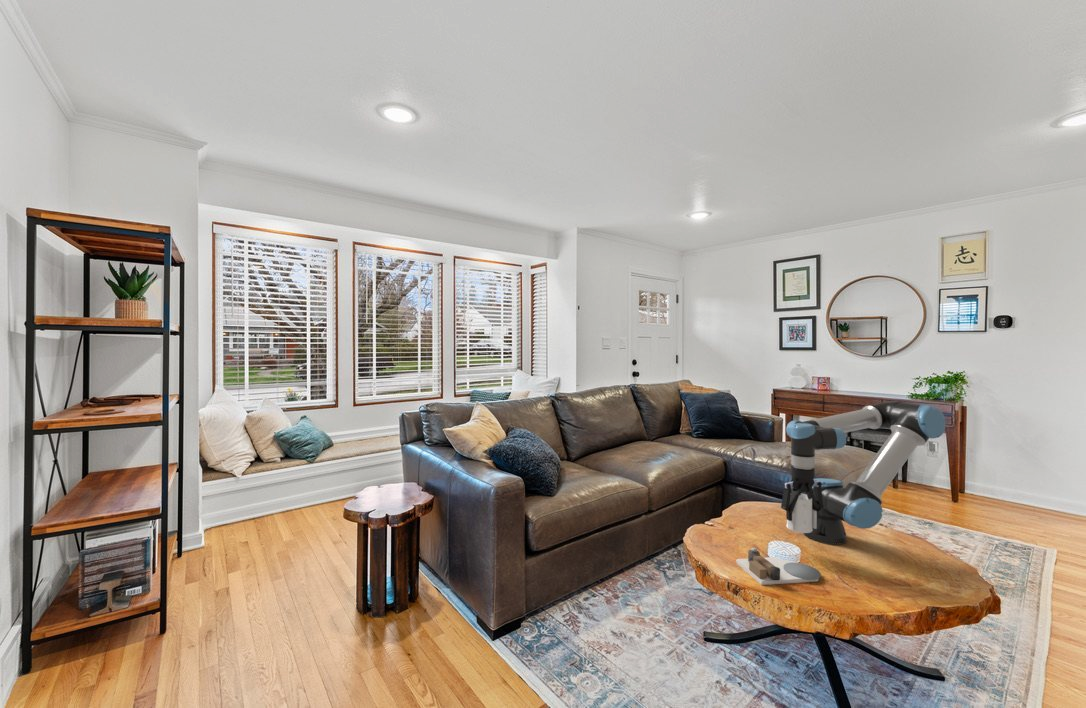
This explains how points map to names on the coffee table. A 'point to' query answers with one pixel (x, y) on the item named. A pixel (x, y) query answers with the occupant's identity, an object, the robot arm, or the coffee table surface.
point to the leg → (765, 564)
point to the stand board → (788, 571)
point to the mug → (803, 515)
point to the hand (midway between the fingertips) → (802, 527)
